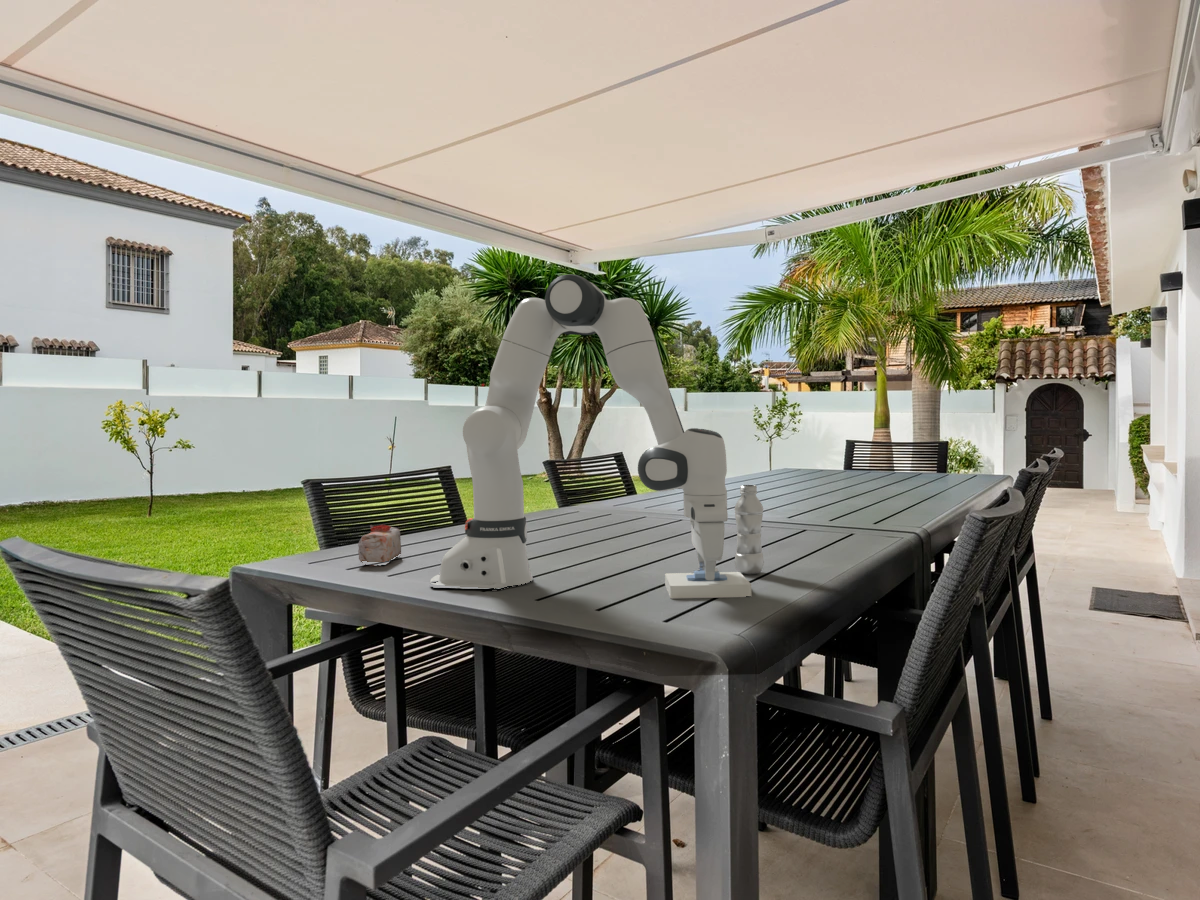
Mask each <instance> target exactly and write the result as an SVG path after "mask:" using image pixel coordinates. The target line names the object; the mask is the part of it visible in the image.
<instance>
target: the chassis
mask: <svg viewBox="0 0 1200 900" xmlns="http://www.w3.org/2000/svg"><path fill="white" fill-rule="evenodd" d="M719 573H720V575H726V577H727V580H720V581H688V580H687V578H686V575H694V572H677V573H676V572H673V573H672V572H671V573H670V572H669V573H668V572H666V573H664V586H665V589H666V590H667V593H668V596H669V598H670V599H711V598H712V599H713V598H716V599H717V598H718V599H719V598H747V597H746V596H751V597H752V583H751V582H750V581H749V580H748V579H747V578H746V577H745V575H743V573H741V572H738V571H722V572H721V571H720V572H719Z"/></svg>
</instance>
